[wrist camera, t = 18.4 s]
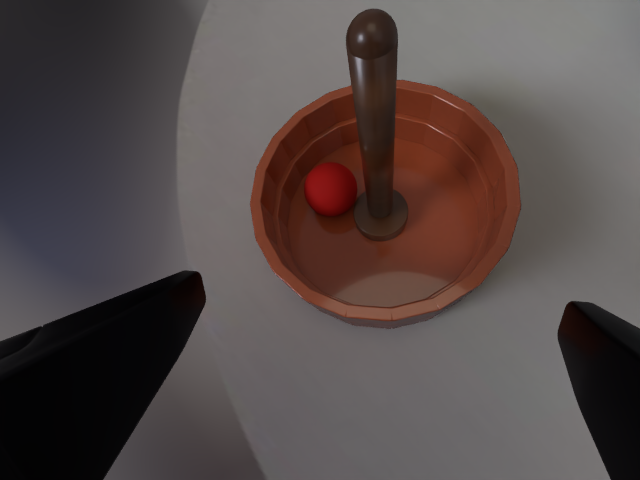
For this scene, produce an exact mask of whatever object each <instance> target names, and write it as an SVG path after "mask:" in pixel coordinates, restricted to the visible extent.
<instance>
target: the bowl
mask: <svg viewBox="0 0 640 480" xmlns="http://www.w3.org/2000/svg"><path fill="white" fill-rule="evenodd" d="M327 162H335V163H339V164H342V165H344V166H345V167H347V168H348V169H349V170H350V171H351V172H352V173H353V175H354V177H355V179H356V182H357V196H356V199H355V201H354V203H353V205H352V206H351V207H350V208H349V209H348V210H347V211H346V212H344V213H342V214H340V215H336V216H325V215H321V214H319V213H317V212H316V211H314V210H313V209H312V208H311V207H310V206H309V204H308V203H307V201H306V198H305V195H304V184H305V180H306V178H307V176H308V174H309V173H310V172H311V171H312V170H313V169H314V168H315V167H316V166H318V165H320V164H322V163H327ZM393 189H394V190H396V191H398V192H399V193H400V194H401V195H402V196H403V197H404V198H405V200H406V202H407V205H408V218H407V223H406V226H405V228H404V229H403V231H402V232H401V233H400V234H399V235H398V236H397V237H395V238H393V239H391V240H388V241H373V240H370V239H368V238H366V237H365V236H363V235H362V234H361V233H360V232H359V230H358V229H357V227H356V224H355V220H354V216H353V208H354V204H355V202H356V200H357V199H358V197H359V196H360V195H361V194H362V193H363V192H365V183H364V175H363V168H362V160H361V153H360V145H359V138H358V130H357V123H356V115H355V108H354V100H353V93H352V85H351V86H348V87H345V88H341V89H338V90H335V91H332V92H329V93H327V94H325V95H324V96H322V97H320V98H319V99H317V100H315V101H314V102H312V103H310V104H309V105H307V106H306V107H304V108H302V109H301V110H299V111H298V112H296V113H295V114H294V115H293V116H292V117H291V118H290V120H289V121H288V122H287V123H286V124H285V125H284V126H283V127H282V128H281V129H280V130H279V131H278V132H277V133H276V134H275V135H274V136H273V138H272V139H271V141H270V143H269V145H268V147H267V148H266V150H265V152H264V154H263V156H262V158H261V160H260V162H259V164H258V166H257V168H256V173H255V178H254V184H253V190H252V195H251V201H250V207H251V213H252V220H253V226H254V233H255V238H256V241H257V243H258V245H259V246H260V248H261V250H262V252H263V254H264V256H265V258H266V259H267V261H268V263H269V265H270V267H271V269H272V270H273V272H274V273H275V274H276V275H277V276H278V277H279V278H280V279H281V280H282V281H284V282H285V283H286V284H287V285H288V286H289V287H290V288H291V289H292V290H294V291H295V292H296V293H297V294H298V295H299V296H300V297H301V298H302V299H304V300H305V301H306V302H308V303H309V304H311V305H312V306H314V307H315V308H316V309H318V310H319V311H321V312H323V313H325V314H328V315H330V316H332V317H335V318H337V319H339V320H341V321H344V322H346V323H348V324H351V325H354V326H363V327H374V328H386V329H391V328H392V329H394V328H398V327H402V326H406V325H411V324H415V323H419V322H423V321H428V320H429V319H432V318H433V317H435V316H437V315H438V314H440V313H441V312H443V311H445V310H446V309H448V308H449V307H451V306H453V305H454V304H456V303H457V302H459V301H461V300H462V299H463V298H464V297H466V296H467V295H468V294H469V293H471V292H472V291H473V290H474V289H476V288H477V287H478V286H479V285H480V284H482V282H483V281H484V280H485V278H486V277H487V276H488V275H489V273H490V272H491V271H492V270H493V268H494V267H495V266H496V264H497V263H498V262H499V261H500V259H501V258H502V257H503V256H504V254H505V253H506V252H507V250H508V248H509V246H510V243H511V240H512V237H513V233H514V230H515V227H516V223H517V220H518V217H519V214H520V210H521V200H520V189H519V177H518V168H517V165H516V163H515V161H514V159H513V157H512V155H511V153H510V150H509V148H508V146H507V144H506V142H505V140H504V138H503V136H502V134H501V133H500V131H499V130H498V129H497V128H496V127H495V126H494V125H493V124H492V123H491V122H490V121H489V120H488V119H487V118H486V117H485V116H484V115H483V114H482V113H481V112H480V111H479V110H478V109H477V108H476V107H475V106H473V105H472V104H470V103H468V102H466V101H464V100H463V99H461V98H459V97H457V96H455V95H453V94H451V93H449V92H447V91H445V90H443V89H441V88H438V87H436V86H431V85H426V84H421V83H416V82H411V81H406V80H396V112H395V144H394V176H393Z"/></svg>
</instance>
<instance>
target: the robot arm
mask: <svg viewBox="0 0 640 480" xmlns="http://www.w3.org/2000/svg"><path fill="white" fill-rule="evenodd" d="M205 302H206V295H205V290H204V286H203V282H202V277H201V275H200V273H199V272H197V271H182V272H179V273H176V274H174V275H171V276H168V277H166V278H163V279H161V280H158V281H156V282H153V283H150V284H148V285H145V286H143V287H140V288H138V289H135V290H132V291H130V292H127V293H125V294H122V295H119V296H117V297H114V298H112V299H109V300H107V301H104V302H101V303H99V304H96V305H94V306H91V307H89V308H86V309H84V310H81V311H78V312H76V313H73V314H70V315H68V316H65V317H63V318H60V319H58V320H55V321H52V322H50V323H47V324H45V325H43V327H41V326H40V327H37V328H34V329H32V330H29V331H26V332H24V333H21V334H19V335H16V336H13V337H11V338H8V339H5V340H3V341H0V480H103V479H104V478H105V476H106V475H107V473H108V471H109V470H110V468H111V467H112V465H113V463H114V462H115V460H116V458H117V457H118V455H119V454H120V452H121V450H122V449H123V447H124V445H125V444H126V442H127V440H128V439H129V437H130V436H131V434H132V432H133V431H134V429H135V427H136V426H137V424H138V423H139V421H140V419H141V418H142V416H143V415H144V413H145V411H146V410H147V408H148V406H149V405H150V403H151V401H152V400H153V398H154V397H155V395H156V393H157V392H158V390H159V388H160V387H161V385H162V384H163V382H164V380H165V379H166V377H167V376H168V374H169V372H170V371H171V369H172V367H173V366H174V364H175V362H176V361H177V359H178V358H179V356H180V354H181V352H182V351H183V349H184V347H185V345H186V343H187V341H188V339H189V337H190V335H191V332H192V331H193V328H194V326H195V324H196V322H197V320H198V318H199V316H200V314H201V312H202V310H203V308H204V306H205ZM558 342H559V345H560V348H561V352H562V355H563V358H564V361H565V365H566V368H567V371H568V374H569V378H570V381H571V384H572V387H573V391H574V394H575V397H576V400H577V403H578V405H579V408H580V410H581V413H582V415H583V417H584V420H585V422H586V424H587V426H588V429H589V431H590V433H591V436H592V438H593V440H594V442H595V445H596V447H597V449H598V451H599V454H600V456H601V458H602V461H603V463H604V465H605V467H606V470H607V472H608V474H609V476H610V479H611V480H640V328H638V327H636V326H634V325H632V324H630V323H628V322H627V321H625V320H623V319H621V318H619V317H617V316H615V315H614V314H612V313H610V312H608V311H606V310H604V309H603V308H601V307H599V306H597V305H595V304H593V303H590V302H579V301H571V302H569V303H568V304H567V305H566V307H565V310H564V313H563V316H562V319H561V322H560V325H559V328H558Z"/></svg>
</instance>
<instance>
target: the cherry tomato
mask: <svg viewBox="0 0 640 480" xmlns="http://www.w3.org/2000/svg"><path fill="white" fill-rule="evenodd" d="M304 195H305V198H306V201H307V203H308V204H309V206H310V207H311V208H312V209H313V210H314V211H316V212H317V213H319V214H321V215H325V216H336V215H340V214H342V213H344V212H346V211H347V210H348V209H349V208H350V207H351V206H352V205H353V203H354V201H355V199H356V196H357V182H356V179H355V177H354V175H353V173H352V172H351V171H350V170H349V169H348V168H347V167H345V166H344V165H342V164H339V163H335V162H327V163H322V164H320V165H318V166H316V167H315V168H314V169H313V170H312V171H311V172H310V173H309V174H308V176H307V178H306V180H305V184H304Z"/></svg>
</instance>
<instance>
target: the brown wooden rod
mask: <svg viewBox="0 0 640 480" xmlns="http://www.w3.org/2000/svg"><path fill="white" fill-rule="evenodd" d="M346 47H347V55H348V62H349V70H350V78H351V85H352V93H353V100H354V108H355V115H356V123H357V130H358V138H359V145H360V153H361V160H362V168H363V175H364V183H365V192H363V193H362V194H361V195H360V196H359V197H358V199H357V200H356V202H355V204H354V208H353V216H354V220H355V224H356V227H357V229H358V230H359V232H360V233H361V234H362V235H363V236H365V237H366V238H368V239H370V240H373V241H388V240H391V239H393V238H395V237H397V236H398V235H399V234H400V233H401V232H402V231H403V229H404V228H405V226H406V223H407V218H408V205H407V202H406V200H405V198H404V197H403V196H402V195H401V194H400V193H399V192H398V191H396V190H394V189H393V176H394V144H395V112H396V80H397V48H398V33H397V27H396V24H395V22H394V20H393V19H392V17H391V16H390V15H389V14H388V13H386V12H385V11H383V10H380V9H368V10H365V11H363V12H361V13H359V14H358V15H357V16H356V17H355V18H354V19H353V20H352V22H351V24H350V25H349V28H348V30H347V35H346Z"/></svg>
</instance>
